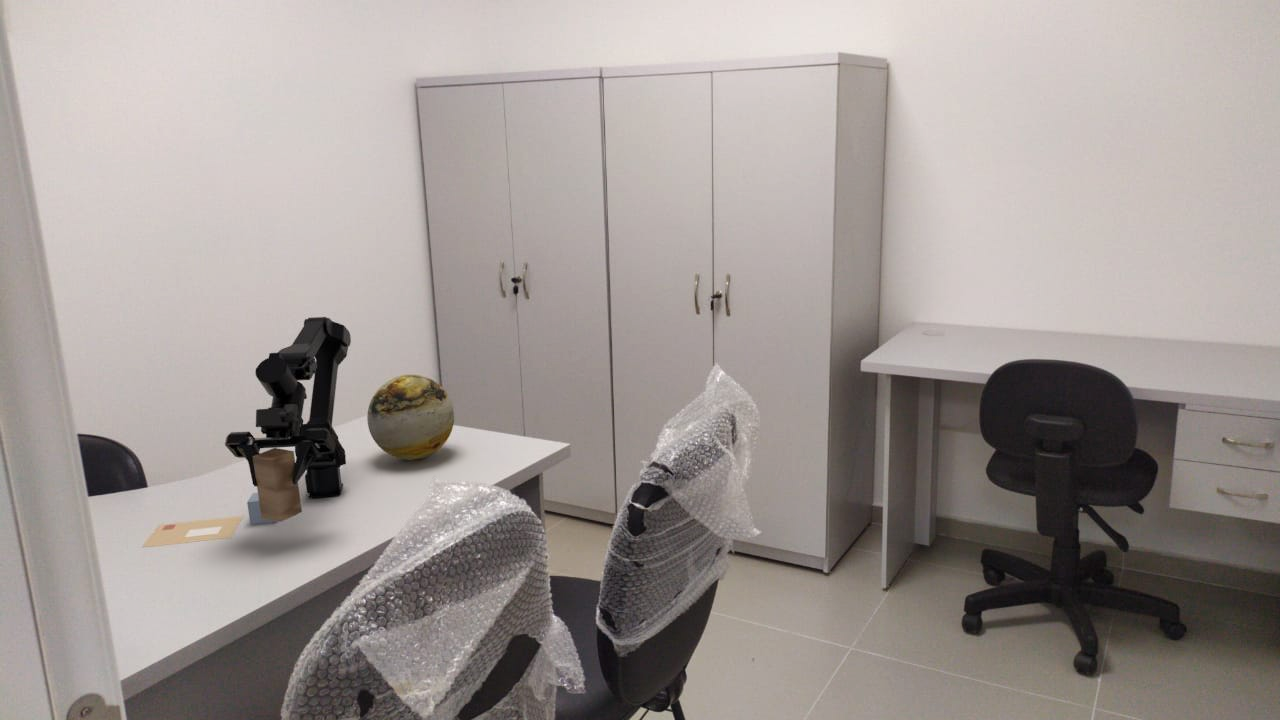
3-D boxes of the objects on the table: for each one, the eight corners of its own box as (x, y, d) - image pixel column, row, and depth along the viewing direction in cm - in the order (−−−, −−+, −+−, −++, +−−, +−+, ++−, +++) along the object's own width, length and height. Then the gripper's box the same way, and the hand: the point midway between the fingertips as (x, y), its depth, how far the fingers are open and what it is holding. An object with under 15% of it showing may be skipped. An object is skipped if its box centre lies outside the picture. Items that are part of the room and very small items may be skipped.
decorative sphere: (356, 470, 211) (346, 386, 207) (396, 442, 230) (388, 365, 226) (436, 473, 207) (427, 387, 202) (470, 445, 226) (463, 366, 221)
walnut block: (283, 507, 175) (274, 447, 172) (302, 511, 172) (293, 451, 169) (261, 517, 170) (252, 456, 167) (280, 522, 168) (271, 459, 165)
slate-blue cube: (281, 513, 188) (278, 490, 187) (277, 523, 183) (273, 499, 182) (256, 516, 187) (252, 493, 186) (250, 525, 182) (247, 502, 181)
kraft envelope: (243, 516, 187) (243, 515, 187) (230, 538, 176) (230, 537, 176) (158, 525, 184) (158, 524, 184) (140, 548, 173) (140, 547, 173)
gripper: (221, 391, 169) (205, 468, 161) (323, 386, 170) (312, 463, 162) (243, 419, 179) (229, 493, 171) (340, 414, 179) (330, 488, 171)
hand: (274, 484), depth 168 cm, fingers closed on walnut block, 7 cm apart
